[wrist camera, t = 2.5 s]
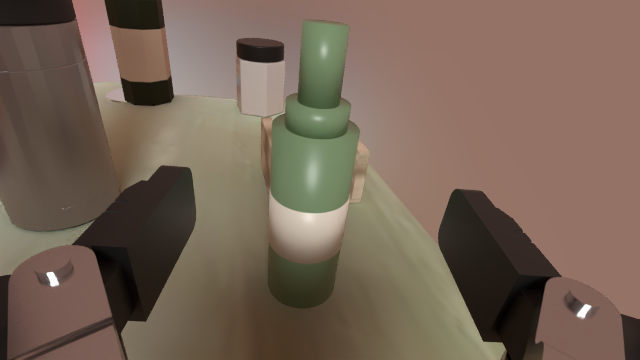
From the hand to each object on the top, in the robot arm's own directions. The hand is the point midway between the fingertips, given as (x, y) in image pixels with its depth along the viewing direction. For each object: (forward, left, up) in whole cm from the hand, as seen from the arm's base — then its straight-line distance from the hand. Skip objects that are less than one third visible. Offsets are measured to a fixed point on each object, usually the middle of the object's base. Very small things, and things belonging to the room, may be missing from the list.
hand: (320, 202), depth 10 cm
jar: (-35, +41, -16) cm, 56 cm away
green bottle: (-6, +10, -16) cm, 20 cm away
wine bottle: (-53, +31, -16) cm, 63 cm away
